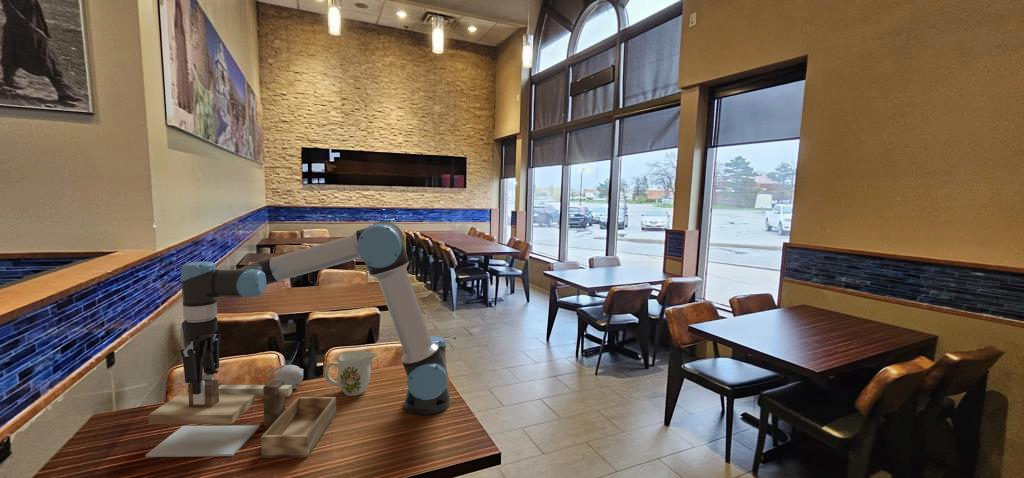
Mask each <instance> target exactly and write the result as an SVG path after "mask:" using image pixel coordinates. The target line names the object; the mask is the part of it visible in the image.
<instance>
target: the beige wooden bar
mask: <svg viewBox="0 0 1024 478" xmlns="http://www.w3.org/2000/svg"><path fill="white" fill-rule="evenodd" d="M265 385H266V384H223V383H222V382H221V383H219V382H218V387H219V394H221V395H255V398H256V397H257V398H258V397H260V398H261V397H262V398H264V391H263V387H264V386H265ZM278 392H279V397H285V398H286V397H290V396H291V395H292V394H293V389H292V385H281V386H280V387H279V388H278Z"/></svg>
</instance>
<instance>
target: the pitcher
mask: <svg viewBox="0 0 1024 478" xmlns="http://www.w3.org/2000/svg"><path fill="white" fill-rule="evenodd" d="M377 356H378V353H376V352H369V351H366V350H353V351H348V352H345V353H342V354H340V355H339V356H338V362H335V361H331V362H329V363H327V365H326V366H325V369H324V377H325V379H326V380H327V382H328V383H329V384H330V385H333V386H335V387H339V388H340V389H341V391H342V392H343V394H344V395H345V396H349V397H355V396H356V395H357V396H359V395H362V394H363V393H365V391H366V389H367V387H368V386H369V382H370V380H371V374H372V373H371V365H370V363H372V360H373V358H375V357H377ZM332 366H333V367H337V381H336V380H334V379H333V378H332V377H331V376H330V373H329V371H330V368H331V367H332Z"/></svg>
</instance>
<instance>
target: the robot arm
mask: <svg viewBox="0 0 1024 478" xmlns="http://www.w3.org/2000/svg"><path fill="white" fill-rule="evenodd" d="M404 243H405V239H404V234H403V232H402V230H401V228H400V227H399V226H397V224H395V223H393V222H390V221H378V222H375V223H373V224H372V225H369V226H367V227H364V228H363V229H359V230H356V231H355V232H354V233H353V234H352V235H350V236H346V237H343V238H338V239H334V240H331V241H327V242H325V243H320V244H317V245H313V246H310V247H305V248H301V249H299V250H295V251H292V252H287V253H284V254H281V255H278V256H273V257H271V258H267V259H262V260H257V261H253V262H252V263H250V264H248V265H246V266H243V267H240V268H238V269H217V266H216V263H215V262H213V261H192V262H191V261H190V262H187V263H184V264H183V265H182V267H181V274H180V275H181V276H180V277H181V278H180V283H181V293H182V318H183V320H184V321H183V323H182V324H183V325H182V326H183V334H184V336H187V337H188V340H187V347H186V348H185V349H184V348H182V349H181V350H180V352H179V353H180V355H181V357H182V364H183V374H184V383H185V384H190V383H192V393H193V404H205V381H202V379H207V380H215V374H218V373H219V370H218V369H219V368H220V343H221V337H222V335H221V334H218V333H217V334H215V333H216V332H217V331H218V329H219V327H218V318H217V316H218V303H217V302H218V301H217V299H218V298H247V299H249V298H255V297H256V298H257V297H260V296H262V295H264V292H265V290H266V287H267V286H268V285H271V284H274V283H278V282H281V281H285V280H288V279H291V278H295V277H299V276H302V275H306V274H309V273H312V272H316V271H319V270H323V269H327V268H329V267H330V268H331V267H334V266H337V265H341V264H345V263H348V262H352V261H355V260H356V261H357V260H359V259H361V260H362V261H363V262H364V264H366V265H365V266H366V269H367V271H368V273H369V275H370V277H373V278H375V279H376V280H377V281H378V284H379V287H380V289H381V292H382V295H383V298H384V301H385V303H386V307H387V309H388V311H389V314H390V318H391V320H392V323H393V326H394V328H395V331H396V335H397V337H398V339H399V343H400V345H401V347H402V351H403V355H402V357H401V363H402V366H403V369H404V371H405V374H406V377H407V380H406V383H407V384H406V385H407V391H406V393H405V397H404V408H405V410H406V411H407V412H409V413H411V414H414V415H419V416H429V415H435V414H438V413H441V412H444V411H445V410H446V409H448V408H449V407H450V405H451V395H450V392H449V389H448V381H449V373H448V366H447V360H446V358H447V357H446V354H447V353H446V351H447V349H446V348H447V343H446V339H445V338H443V337H440V336H435V335H430V333H429V330H428V328H427V327H428V326H427V323H426V322H425V318H424V316H423V313H422V311H421V307H420V305H419V302H418V299H417V296H416V293H415V290H414V287H413V284H412V282H411V279H410V276H409V273H408V271H407V269H408V266H409V264H410V259H409V256H408V254H407V251H406V248H405V246H404ZM203 373H204V374H203Z"/></svg>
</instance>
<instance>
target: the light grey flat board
mask: <svg viewBox="0 0 1024 478" xmlns="http://www.w3.org/2000/svg"><path fill="white" fill-rule="evenodd" d="M260 427H261V425H182V426H181V427H180V428H178V429H177V430H176V431H174V432H173V433H172V434H170V435H169V436H167V437H166V439H164V440H162V442H160V443H159V444H158V445H156V446H155V447H154V448H152V449H151V450H150V451H149V452H147V453H145V458H159V457H160V458H162V457H164V458H165V457H167V458H168V457H169V458H172V457H173V458H175V457H177V458H178V457H179V458H180V457H182V458H184V457H186V458H187V457H233V456H234V455H235V454H236V453H237V452H238V451H239V450H240V449H241V448H242V447H243V446H244V445H245V444H246V442H247V441H248V440H249V439H250V438H252V436H253V435H254V434H255V433H256V432H257V431H258V430H259V429H260Z"/></svg>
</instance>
